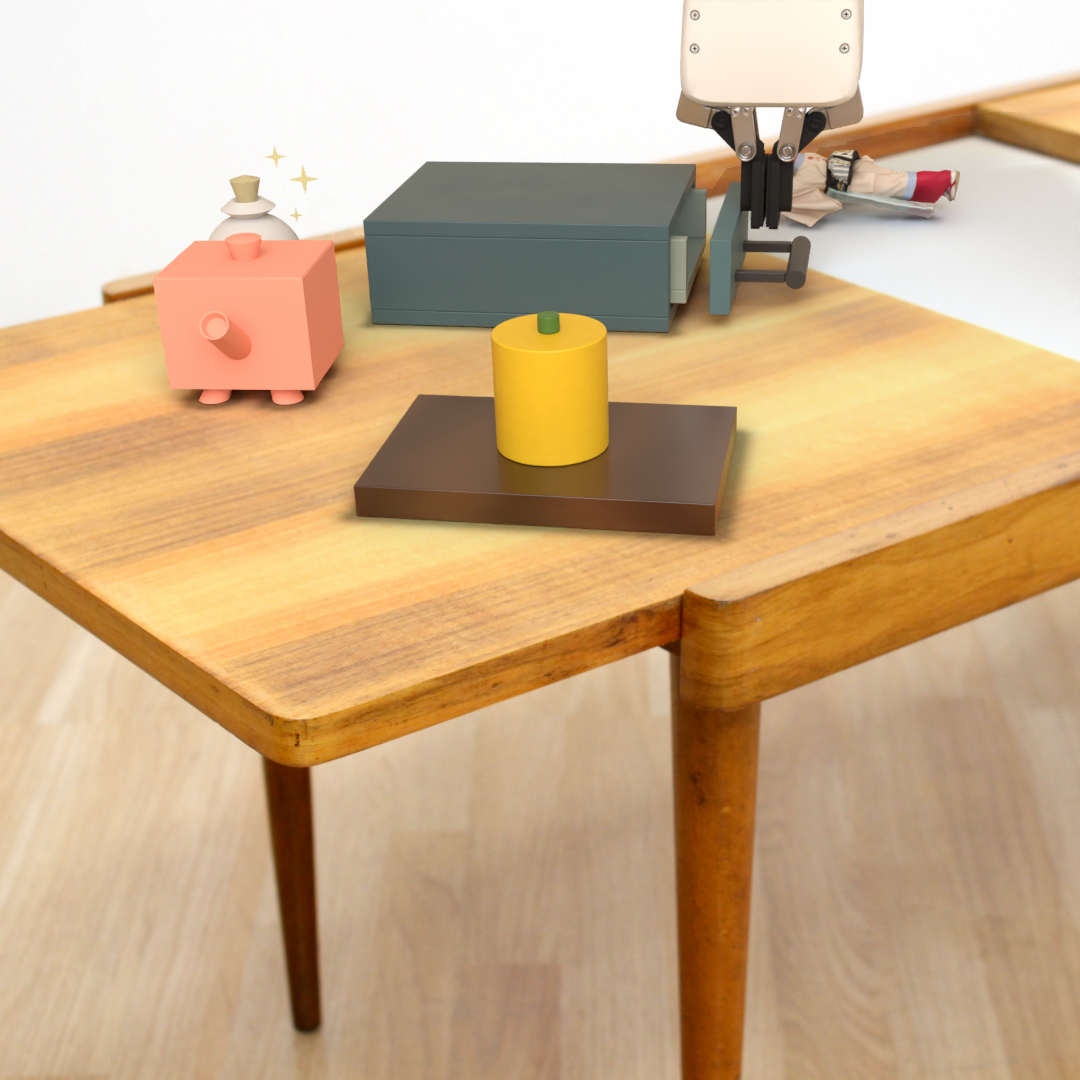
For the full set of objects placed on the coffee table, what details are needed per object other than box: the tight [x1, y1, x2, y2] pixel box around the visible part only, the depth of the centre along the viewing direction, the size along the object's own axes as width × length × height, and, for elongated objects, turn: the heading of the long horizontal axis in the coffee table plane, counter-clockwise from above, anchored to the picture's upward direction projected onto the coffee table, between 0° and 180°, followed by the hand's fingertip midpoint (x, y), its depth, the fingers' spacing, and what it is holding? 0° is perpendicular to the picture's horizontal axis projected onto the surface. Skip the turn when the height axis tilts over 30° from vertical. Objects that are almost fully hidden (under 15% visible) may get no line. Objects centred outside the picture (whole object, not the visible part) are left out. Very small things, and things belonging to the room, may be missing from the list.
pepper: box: [490, 311, 609, 466], centre depth 70 cm, size 5×5×6 cm
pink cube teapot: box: [152, 233, 345, 406], centre depth 82 cm, size 8×12×8 cm, turn 173°
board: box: [353, 393, 738, 536], centre depth 72 cm, size 16×11×2 cm
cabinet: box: [362, 160, 697, 333], centre depth 96 cm, size 18×14×6 cm
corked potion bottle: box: [207, 145, 318, 241], centre depth 94 cm, size 6×7×10 cm
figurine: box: [767, 149, 961, 228], centre depth 110 cm, size 6×8×15 cm
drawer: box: [670, 181, 812, 316], centre depth 95 cm, size 21×13×4 cm, turn 79°
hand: (765, 222), depth 93 cm, fingers closed
